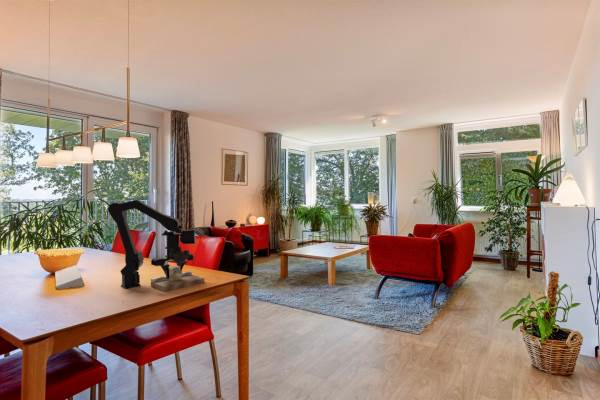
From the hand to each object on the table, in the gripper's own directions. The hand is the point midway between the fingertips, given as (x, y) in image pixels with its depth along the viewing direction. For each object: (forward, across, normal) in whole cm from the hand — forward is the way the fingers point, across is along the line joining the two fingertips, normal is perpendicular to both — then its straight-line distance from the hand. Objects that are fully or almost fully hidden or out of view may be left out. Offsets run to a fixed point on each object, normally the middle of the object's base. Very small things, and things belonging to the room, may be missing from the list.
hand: (173, 277), depth 158 cm
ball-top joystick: (+1, 0, -3) cm, 3 cm away
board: (+3, +1, -2) cm, 4 cm away
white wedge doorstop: (+4, -31, +47) cm, 56 cm away
